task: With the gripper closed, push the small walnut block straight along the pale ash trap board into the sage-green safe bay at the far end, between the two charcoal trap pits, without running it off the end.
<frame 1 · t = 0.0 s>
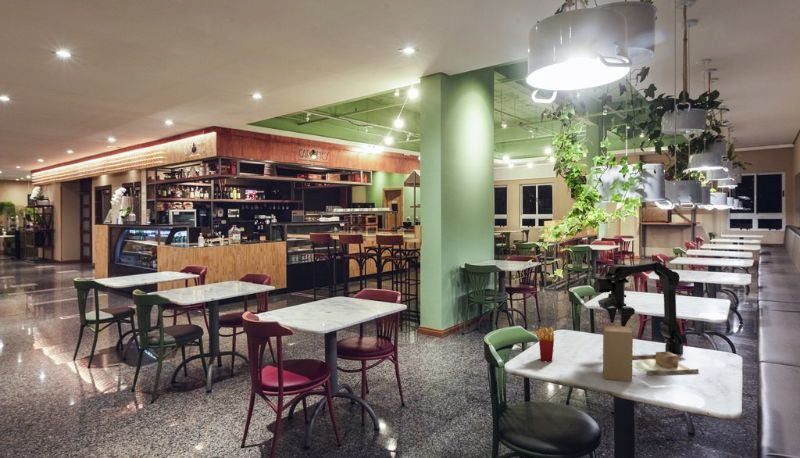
hand: (617, 325, 213), 15 cm above the table, tool pointing down, fingers open, 9 cm apart
french fries: (544, 359, 211), on the table
wooden block: (617, 376, 189), on the table
trap board: (657, 367, 198), on the table
walnut block: (666, 365, 199), point 1 cm above the table, touching trap board
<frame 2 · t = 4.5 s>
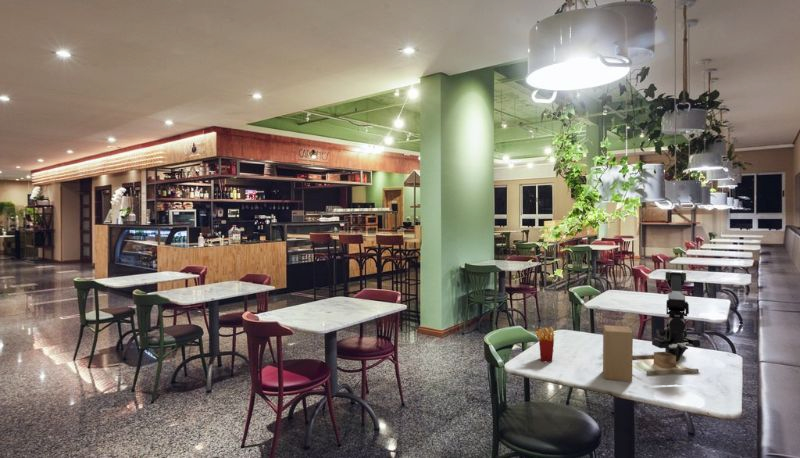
hand: (675, 362, 199), 2 cm above the table, tool pointing down, fingers closed
walnut block: (664, 365, 199), point 1 cm above the table, touching gripper, trap board
everything else where it was.
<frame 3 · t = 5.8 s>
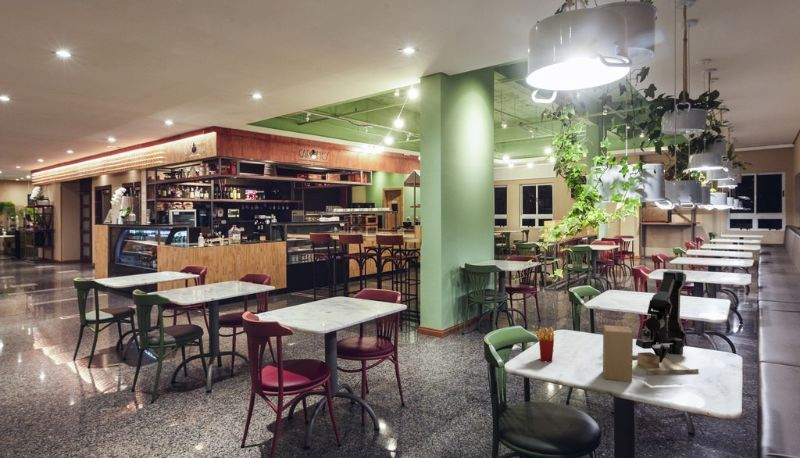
hand: (659, 362, 198), 2 cm above the table, tool pointing down, fingers closed
walnut block: (648, 366, 198), point 1 cm above the table, touching gripper
everything else where it was.
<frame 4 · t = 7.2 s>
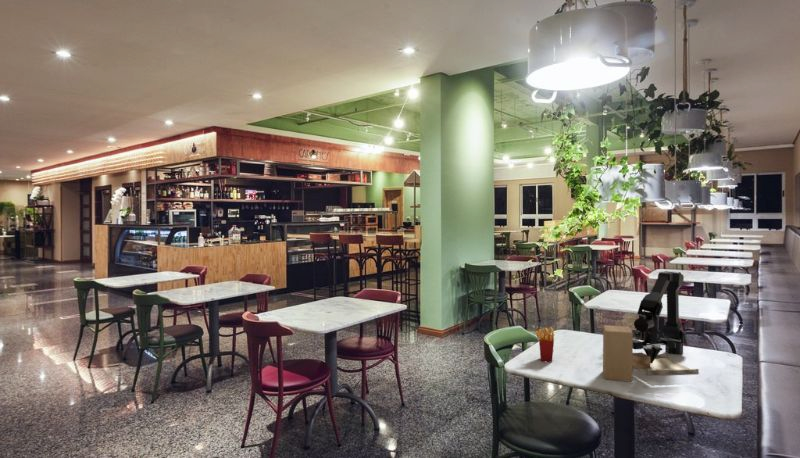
hand: (650, 363, 198), 2 cm above the table, tool pointing down, fingers closed
walnut block: (639, 366, 198), point 1 cm above the table, touching gripper, trap board
everything else where it was.
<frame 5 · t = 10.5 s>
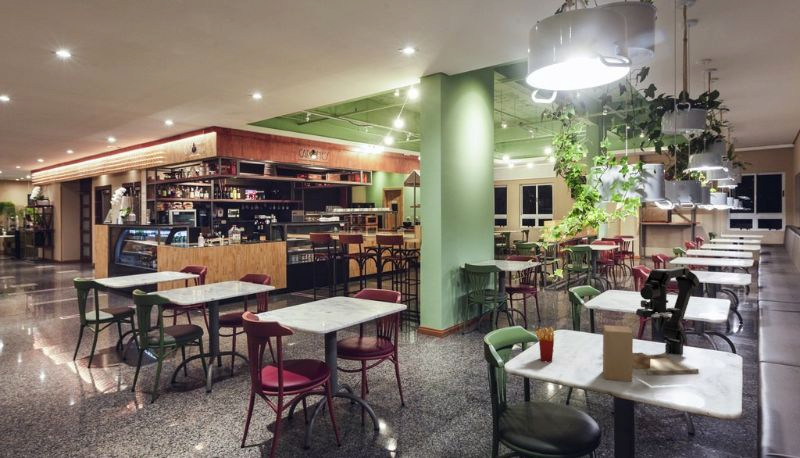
hand: (658, 331, 208), 13 cm above the table, tool pointing down, fingers closed
walnut block: (639, 366, 198), point 1 cm above the table, touching trap board
everything else where it was.
at the end: walnut block inside the target area on the trap board (1.2 cm from its centre), point 0.8 cm above the trap board's base; walnut block tilted 0° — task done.
